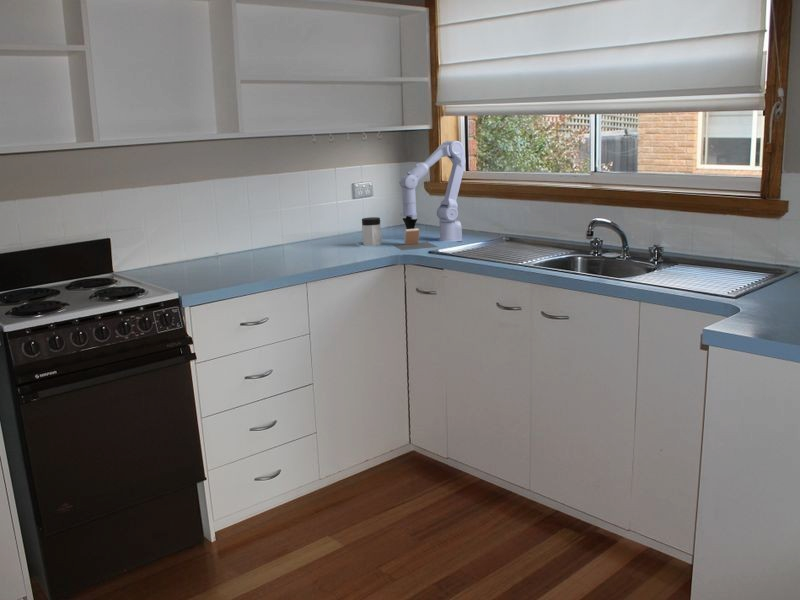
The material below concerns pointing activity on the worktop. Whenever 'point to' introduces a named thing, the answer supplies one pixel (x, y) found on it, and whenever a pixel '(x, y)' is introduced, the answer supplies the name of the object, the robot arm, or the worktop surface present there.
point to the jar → (371, 231)
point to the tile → (411, 236)
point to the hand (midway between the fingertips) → (410, 234)
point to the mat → (415, 246)
